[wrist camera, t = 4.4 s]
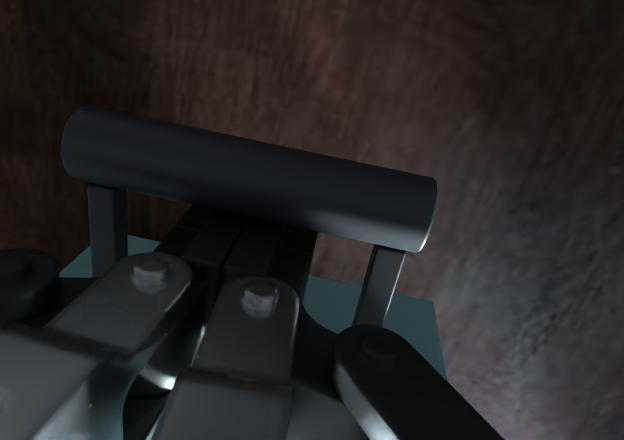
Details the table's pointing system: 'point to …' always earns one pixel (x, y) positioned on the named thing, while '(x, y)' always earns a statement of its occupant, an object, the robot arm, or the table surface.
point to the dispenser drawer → (259, 208)
